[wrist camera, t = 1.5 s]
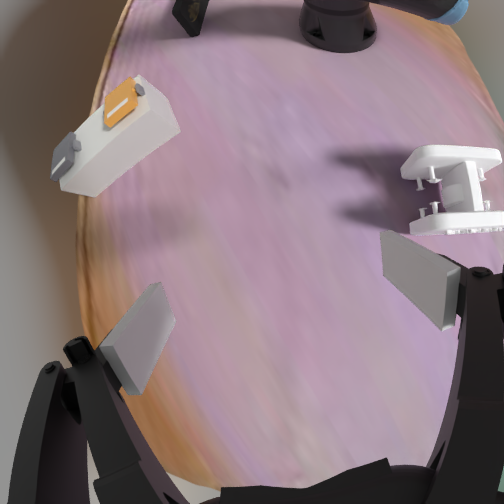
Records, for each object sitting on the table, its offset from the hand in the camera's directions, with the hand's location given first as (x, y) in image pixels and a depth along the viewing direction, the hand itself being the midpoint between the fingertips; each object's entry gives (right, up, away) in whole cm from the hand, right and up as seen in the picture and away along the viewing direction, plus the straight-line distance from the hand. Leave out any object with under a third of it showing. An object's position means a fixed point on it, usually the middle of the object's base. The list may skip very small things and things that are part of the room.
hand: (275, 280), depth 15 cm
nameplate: (-13, +60, +31) cm, 69 cm away
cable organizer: (+28, +9, +19) cm, 35 cm away
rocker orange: (-23, +26, +21) cm, 41 cm away
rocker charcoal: (-37, +20, +25) cm, 49 cm away
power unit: (-27, +23, +34) cm, 49 cm away
